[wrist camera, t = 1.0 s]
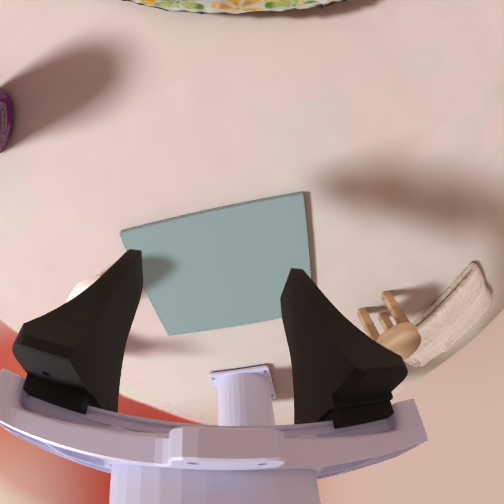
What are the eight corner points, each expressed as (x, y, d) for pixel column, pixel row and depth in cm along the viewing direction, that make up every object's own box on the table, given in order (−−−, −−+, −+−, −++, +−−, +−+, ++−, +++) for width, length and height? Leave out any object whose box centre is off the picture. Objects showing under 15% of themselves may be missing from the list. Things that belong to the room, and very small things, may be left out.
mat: (311, 307, 29) (313, 311, 28) (169, 331, 29) (168, 335, 29) (301, 191, 22) (303, 194, 22) (121, 230, 23) (119, 233, 22)
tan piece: (391, 316, 31) (414, 357, 25) (355, 327, 31) (374, 371, 25) (397, 285, 29) (426, 327, 23) (358, 296, 29) (382, 342, 23)
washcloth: (381, 344, 35) (389, 360, 32) (470, 255, 28) (483, 267, 26) (413, 361, 39) (420, 374, 36) (487, 289, 32) (497, 301, 30)
